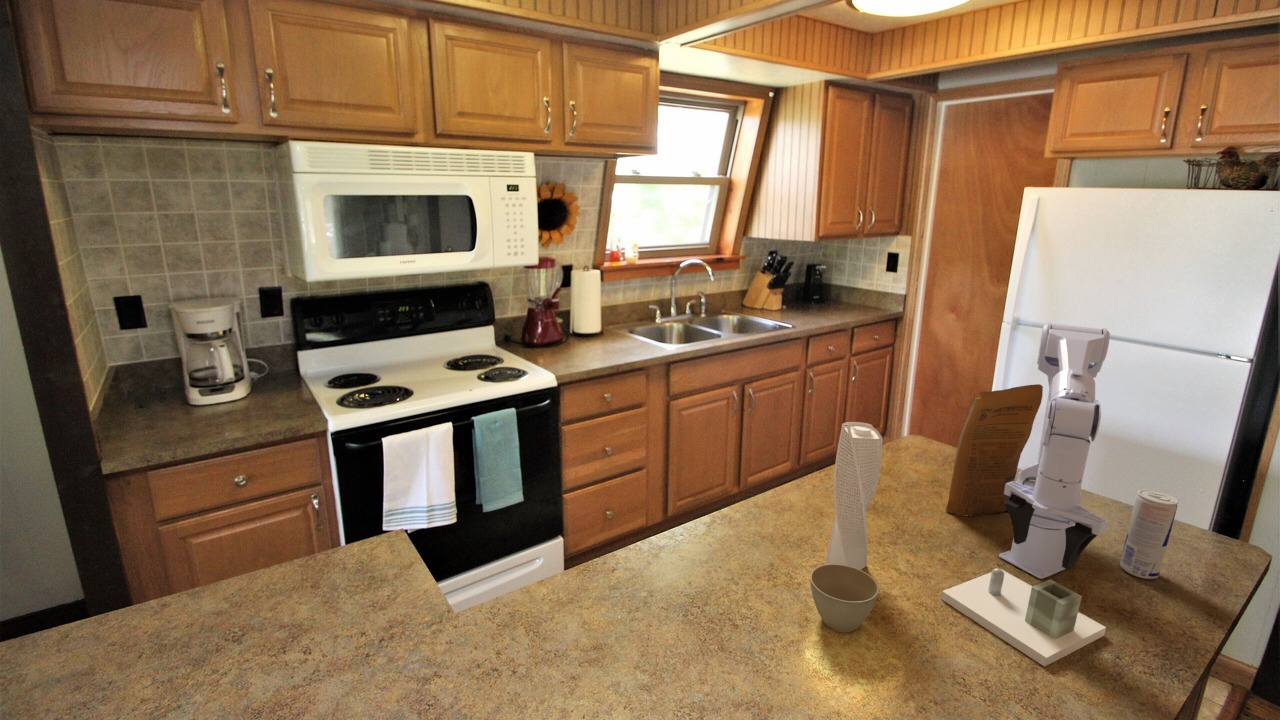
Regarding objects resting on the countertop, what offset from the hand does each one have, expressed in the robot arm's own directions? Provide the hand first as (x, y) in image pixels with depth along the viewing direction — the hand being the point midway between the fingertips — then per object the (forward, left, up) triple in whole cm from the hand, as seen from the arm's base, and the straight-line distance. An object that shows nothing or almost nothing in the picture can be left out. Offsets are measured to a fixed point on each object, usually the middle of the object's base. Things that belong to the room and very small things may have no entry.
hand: (1043, 553), depth 100 cm
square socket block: (+4, +5, -8) cm, 11 cm away
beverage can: (-28, +2, -10) cm, 30 cm away
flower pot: (+31, -11, -10) cm, 34 cm away
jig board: (+4, +1, -10) cm, 11 cm away
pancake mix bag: (-23, -25, -10) cm, 35 cm away
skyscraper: (+19, -22, -10) cm, 31 cm away
